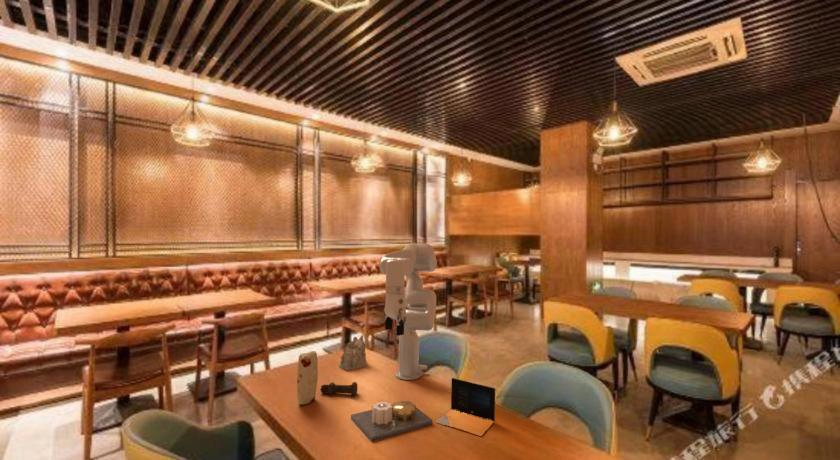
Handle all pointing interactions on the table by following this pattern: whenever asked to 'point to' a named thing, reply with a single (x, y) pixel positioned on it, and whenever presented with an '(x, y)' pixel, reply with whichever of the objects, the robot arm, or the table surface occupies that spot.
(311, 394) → the food model
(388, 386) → the table surface
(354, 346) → the grey jagged tapered piece
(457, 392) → the laptop
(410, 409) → the sun gear
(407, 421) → the carrier plate
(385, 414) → the planet gear
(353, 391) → the bolt
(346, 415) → the table surface
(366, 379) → the table surface
